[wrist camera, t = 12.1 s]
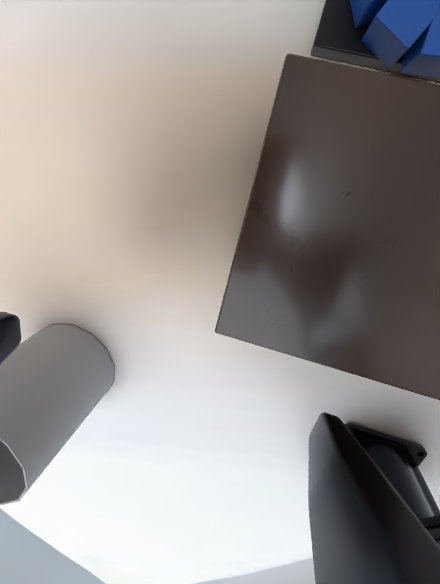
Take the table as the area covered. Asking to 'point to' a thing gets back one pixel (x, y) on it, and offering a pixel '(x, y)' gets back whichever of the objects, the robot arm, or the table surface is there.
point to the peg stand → (349, 40)
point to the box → (344, 227)
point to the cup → (46, 400)
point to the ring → (402, 32)
